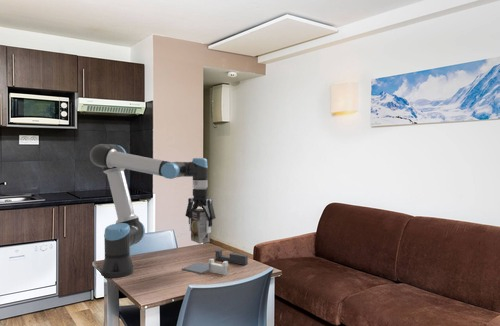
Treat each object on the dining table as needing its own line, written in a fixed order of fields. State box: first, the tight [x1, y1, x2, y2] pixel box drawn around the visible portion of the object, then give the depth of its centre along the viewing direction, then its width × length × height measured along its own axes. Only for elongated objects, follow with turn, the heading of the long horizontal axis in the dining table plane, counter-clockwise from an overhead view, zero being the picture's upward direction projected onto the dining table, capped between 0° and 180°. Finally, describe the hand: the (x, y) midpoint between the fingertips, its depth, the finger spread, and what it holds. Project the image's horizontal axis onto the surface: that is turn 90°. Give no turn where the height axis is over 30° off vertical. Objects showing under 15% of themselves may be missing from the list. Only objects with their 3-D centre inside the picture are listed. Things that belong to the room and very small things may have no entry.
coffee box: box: [190, 208, 211, 244], centre depth 191 cm, size 9×6×16 cm
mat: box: [181, 261, 209, 275], centre depth 191 cm, size 13×13×1 cm
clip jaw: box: [208, 258, 229, 276], centre depth 184 cm, size 10×2×6 cm, turn 59°
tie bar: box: [215, 249, 249, 266], centre depth 202 cm, size 19×3×5 cm, turn 59°
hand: (200, 231), depth 191 cm, fingers closed on coffee box, 10 cm apart
